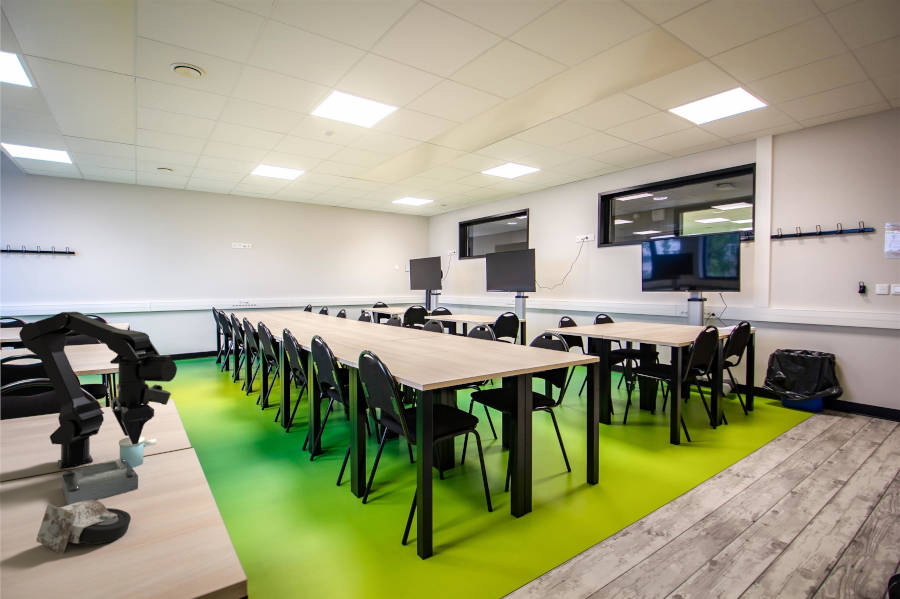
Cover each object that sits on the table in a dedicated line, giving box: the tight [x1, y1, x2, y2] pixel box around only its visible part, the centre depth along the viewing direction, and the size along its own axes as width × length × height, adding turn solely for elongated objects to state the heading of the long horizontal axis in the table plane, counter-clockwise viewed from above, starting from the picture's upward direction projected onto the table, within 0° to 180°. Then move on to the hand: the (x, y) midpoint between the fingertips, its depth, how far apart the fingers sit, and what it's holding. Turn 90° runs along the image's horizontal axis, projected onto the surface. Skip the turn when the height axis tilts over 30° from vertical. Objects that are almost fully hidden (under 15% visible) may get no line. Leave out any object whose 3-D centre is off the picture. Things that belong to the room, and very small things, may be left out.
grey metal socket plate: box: [61, 458, 139, 505], centre depth 98 cm, size 13×12×4 cm
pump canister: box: [118, 435, 157, 468], centre depth 113 cm, size 5×8×7 cm
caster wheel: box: [35, 500, 132, 554], centre depth 78 cm, size 7×11×10 cm
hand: (131, 439), depth 112 cm, fingers open, 9 cm apart
